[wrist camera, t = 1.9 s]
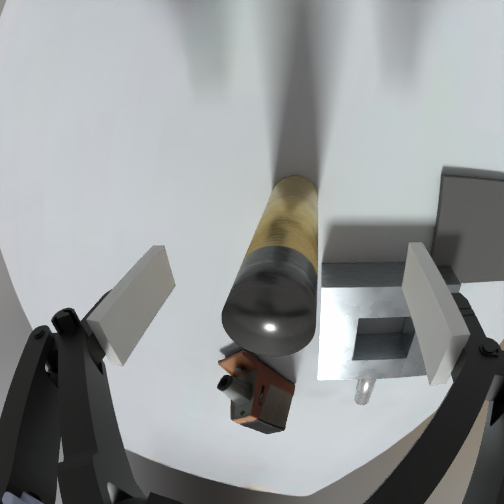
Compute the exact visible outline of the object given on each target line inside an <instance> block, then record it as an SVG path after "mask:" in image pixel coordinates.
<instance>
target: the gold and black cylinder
mask: <svg viewBox="0 0 504 504" xmlns="http://www.w3.org/2000/svg"><path fill="white" fill-rule="evenodd" d="M317 279H318V195H317V191H316V189H315V187H314V185H313V184H312V183H311V182H310V181H309V180H307V179H305V178H303V177H300V176H288V177H285V178H283V179H281V180H280V181H279V182H278V183H277V184H276V185H275V187H274V189H273V191H272V193H271V196H270V198H269V200H268V203H267V205H266V208H265V210H264V212H263V215H262V217H261V219H260V222H259V224H258V227H257V229H256V231H255V234H254V236H253V238H252V241H251V243H250V246H249V248H248V250H247V253H246V255H245V258H244V260H243V262H242V265H241V267H240V270H239V272H238V274H237V277H236V279H235V282H234V284H233V286H232V289H231V291H230V293H229V296H228V298H227V301H226V303H225V306H224V308H223V311H222V324H223V327H224V329H225V331H226V333H227V334H228V335H229V337H230V338H231V339H232V340H233V341H234V342H235V343H237V344H238V345H239V346H241V347H243V348H244V349H246V350H248V351H251V352H253V353H256V354H260V355H265V356H284V355H289V354H293V353H295V352H298V351H299V350H301V349H303V348H304V347H306V346H307V345H308V344H309V343H310V341H311V340H312V338H313V336H314V333H315V328H316V308H317Z"/></svg>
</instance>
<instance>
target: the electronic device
mask: <svg viewBox="0 0 504 504" xmlns="http://www.w3.org/2000/svg"><path fill="white" fill-rule="evenodd" d="M218 363H219V365H220V366H221V367H222V368H223V369H224V370H226V371H227V372H228V373H229V374H230V375H231V376H230V375H224V376H223V377H222V378H221V380H220V382H219V384H218V386H217V388H218V389H219V390H220V391H222V392H223V393H224V394H226V395H227V396H228V397H229V398H230V399H231V420H232V421H234V422H236V423H238V424H240V425H242V426H245V427H249V428H251V429H254V430H256V431H260V432H262V433H265V434H271V433H275V432H281V431H284V430H285V428H286V426H285V425H286V421H287V417H288V413H289V409H290V405H291V401H292V397H293V395H294V391H295V385H294V384H293V383H291V382H289V381H287V380H286V379H284V378H283V377H282V376H281V375H280V374H278V373H276V372H275V371H274V370H272V369H271V368H269V367H268V366H267V365H265V364H263V363H261V362H260V361H259V360H258V359H257V358H256V357H255V356H254V355H253V354H252V353H251V352H250V351H248V350H246V349H243V350H241V351H239V352H237V353H235V354H233V355H231V356H228V357H226V358H225V359H223V360H219V361H218Z"/></svg>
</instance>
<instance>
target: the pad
mask: <svg viewBox="0 0 504 504" xmlns="http://www.w3.org/2000/svg"><path fill="white" fill-rule="evenodd" d="M431 258H432V260H433V261H434V263H435V265H436V266H443V265H450V266H451V268H452V269H453V271H454V273H455V275H456V276H457V278H458V280H459V282H460V283H471V282H489V281H504V180H496V179H487V178H477V177H466V176H453V175H441V184H440V195H439V204H438V212H437V219H436V226H435V233H434V239H433V245H432V250H431Z"/></svg>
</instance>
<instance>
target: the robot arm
mask: <svg viewBox="0 0 504 504" xmlns="http://www.w3.org/2000/svg"><path fill="white" fill-rule="evenodd" d="M175 286H176V285H175V282H174V278H173V275H172V271H171V268H170V264H169V261H168V257H167V254H166V250H165V246H164V245H161V246H152V247H151V248H150V249H149V250H148V251H147V252H146V253H145V255H144V256H143V257H142V258H141V259H140V260H139V261H138V262H137V263H136V264H135V265H134V266H133V267H132V268H131V269H130V270H129V272H128V273H127V274H126V275H125V276H124V277H123V278H122V279H121V280H120V281H119V283H118V284H117V285H116V286H115V287H114V288H113V289H111V290H110V291H108V292H107V293H105V294H104V295H103V296H102V297H101V299H100V300H99V302H97V303H96V304H95V305H94V307H93V308H92V309H91V310H90V311H89V312H88V313H87V314H86V316H85V317H84V318H83V319H82V320H81V321H80V320H79V318H78V316H77V314H76V312H75V310H74V309H72V308H65V309H62V310H60V311H59V312H57V313H56V314H55V315H54V316H53V318H52V320H51V322H52V323H53V325H54V327H55V329H56V330H57V332H58V333H52V332H51V330H50V328H49V327H48V326H46V325H42V326H39V327H37V328H35V329H34V330H33V331H32V333H31V334H30V336H29V338H28V341H27V343H26V345H25V348H24V350H23V353H22V355H21V358H20V361H19V363H18V366H17V368H16V371H15V374H14V377H13V379H12V382H11V385H10V388H9V391H8V394H7V398H6V401H5V404H4V407H3V411H2V414H1V418H0V504H55V500H56V489H57V476H58V482H59V487H60V493H61V498H62V503H63V504H182V503H181V502H179V501H176V500H173V499H170V498H167V497H164V496H160V495H158V494H155V493H152V492H150V495H149V497H145V495H144V494H143V492H142V490H141V489H140V488H139V486H138V485H137V484H136V482H135V480H134V478H133V474H132V471H131V469H130V465H129V462H128V459H127V456H126V453H125V449H124V446H123V442H122V439H121V435H120V432H119V428H118V424H117V420H116V416H115V412H114V407H113V403H112V398H111V394H110V389H109V384H108V379H107V373H106V368H105V364H104V362H103V360H102V359H103V358H104V356H105V355H106V356H107V358H108V360H109V361H110V363H112V364H116V365H120V366H123V365H124V364H125V362H126V361H127V359H128V357H129V356H130V354H131V353H132V351H133V350H134V348H135V346H136V345H137V343H138V342H139V340H140V339H141V337H142V336H143V334H144V333H145V331H146V329H147V328H148V326H149V325H150V323H151V322H152V320H153V319H154V317H155V316H156V314H157V313H158V311H159V310H160V308H161V307H162V305H163V304H164V302H165V301H166V299H167V298H168V296H169V295H170V293H171V292H172V290H173V289H174V287H175ZM402 290H403V293H404V296H405V299H406V302H407V305H408V308H409V311H410V314H411V318H412V321H413V324H414V327H415V331H416V334H417V338H418V341H419V345H420V349H421V352H422V356H423V360H424V364H425V368H426V372H427V376H428V381H429V385H430V386H432V385H440V384H446V383H447V381H448V379H449V377H450V376H451V375H452V379H453V384H452V386H451V388H450V389H449V391H448V393H447V394H446V396H445V398H444V400H443V401H442V403H441V405H440V406H439V408H438V409H437V411H436V413H435V414H434V416H433V418H432V419H431V420H430V422H429V423H428V425H427V426H426V428H425V429H424V431H423V432H422V433H421V435H420V436H419V438H418V439H417V440H416V442H415V443H414V445H413V446H412V447H411V449H410V450H409V451H408V453H407V454H406V455H405V456H404V458H403V459H402V460H401V461H400V463H399V464H398V465H397V466H396V468H395V469H394V470H393V471H392V472H391V474H390V475H389V476H388V477H387V478H386V479H385V480H384V482H383V483H382V484H381V485H380V486H379V487H378V488H377V489H376V490H375V491H374V493H373V494H372V495H371V496H370V497H369V498H368V499H367V500H366V501H365V502H364V503H363V504H424V503H425V502H426V500H427V499H428V498H429V496H430V495H431V493H432V492H433V491H434V489H435V488H436V486H437V485H438V483H439V482H440V480H441V479H442V478H443V476H444V475H445V473H446V472H447V470H448V468H449V467H450V465H451V464H452V462H453V460H454V459H455V457H456V455H457V454H458V452H459V450H460V449H461V447H462V445H463V443H464V441H465V440H466V438H467V436H468V434H469V432H470V430H471V428H472V426H473V424H474V422H475V420H476V418H477V416H478V414H479V412H480V410H481V407H482V405H483V403H484V401H485V400H487V401H489V407H488V413H487V418H486V423H485V428H484V433H483V437H482V442H481V446H480V450H479V454H478V457H477V461H476V464H475V468H474V471H473V474H472V477H471V480H470V483H469V486H468V489H467V492H466V495H465V497H464V500H463V502H462V504H504V351H502V350H501V348H500V346H499V344H498V343H497V342H496V341H494V340H493V339H491V338H487V337H486V336H485V333H484V331H483V329H482V327H481V325H480V323H479V321H478V319H477V317H476V316H475V313H474V311H473V309H471V306H470V304H469V302H468V300H467V299H466V298H465V297H464V296H463V295H462V294H461V293H450V291H449V289H448V287H447V285H446V283H445V281H444V279H443V278H442V276H441V274H440V272H439V270H438V268H437V267H436V265H435V263H434V261H433V260H432V258H431V256H430V255H429V253H428V251H427V250H426V248H425V246H424V245H423V243H422V242H409V244H408V252H407V259H406V265H405V271H404V277H403V283H402ZM45 364H46V365H47V367H48V368H49V369H48V372H46V370H45ZM61 437H62V447H63V454H64V461H63V462H60V463H58V460H59V449H60V440H61Z"/></svg>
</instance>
